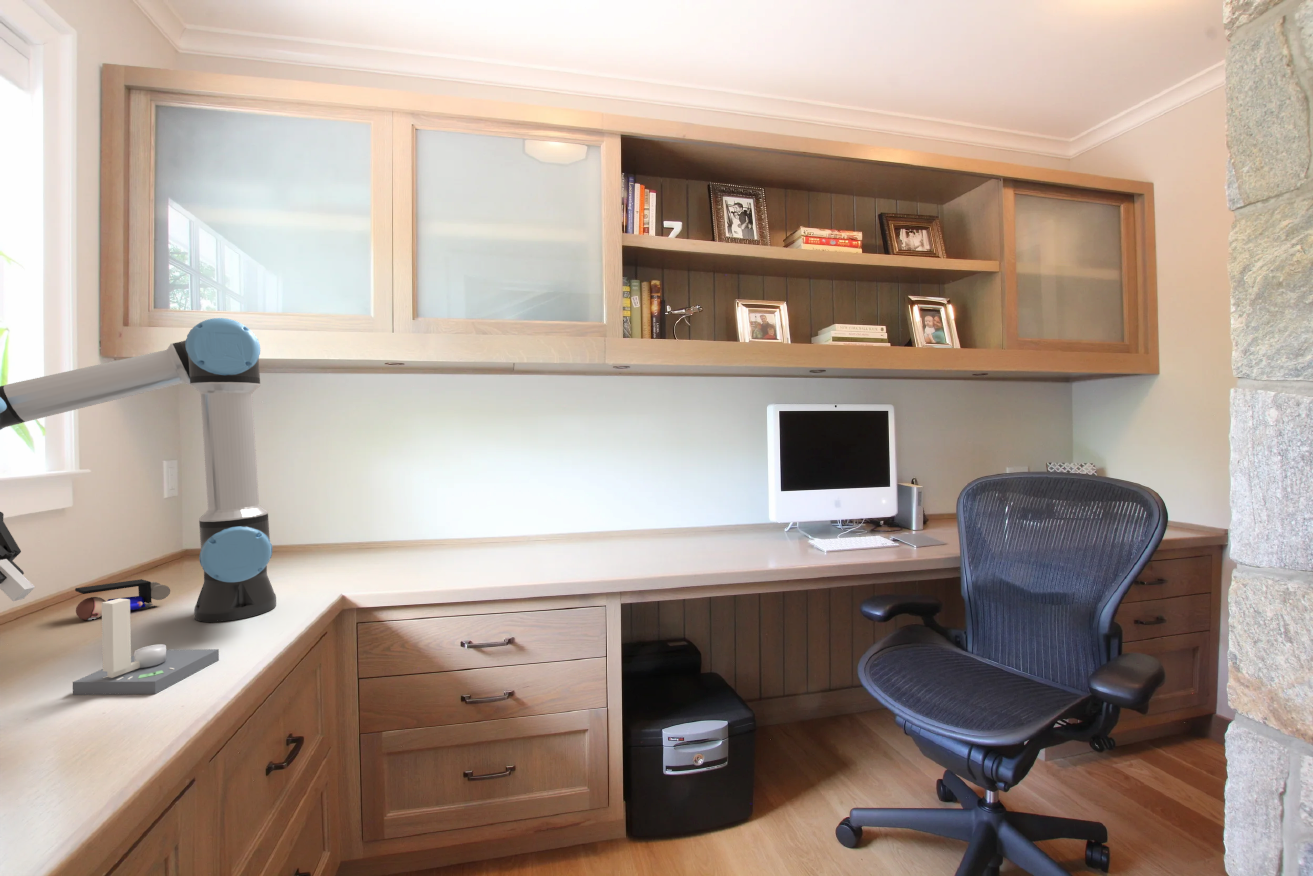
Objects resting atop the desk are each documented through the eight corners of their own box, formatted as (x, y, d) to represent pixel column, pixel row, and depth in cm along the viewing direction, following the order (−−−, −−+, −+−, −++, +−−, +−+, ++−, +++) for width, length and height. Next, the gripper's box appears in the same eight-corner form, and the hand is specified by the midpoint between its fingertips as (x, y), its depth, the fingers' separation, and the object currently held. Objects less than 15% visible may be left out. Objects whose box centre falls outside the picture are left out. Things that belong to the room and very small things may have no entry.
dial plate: (146, 660, 102) (146, 649, 102) (218, 660, 102) (218, 648, 102) (72, 694, 89) (72, 681, 89) (155, 694, 89) (155, 680, 89)
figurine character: (157, 608, 137) (69, 619, 124) (161, 576, 137) (74, 583, 124) (168, 612, 133) (79, 624, 120) (172, 580, 134) (84, 588, 121)
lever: (155, 657, 98) (153, 588, 97) (172, 659, 97) (171, 590, 96) (99, 676, 90) (97, 602, 90) (117, 679, 89) (116, 604, 89)
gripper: (-48, 502, 96) (51, 598, 97) (-157, 513, 83) (-43, 624, 84) (-17, 471, 96) (81, 567, 97) (-122, 478, 83) (-8, 589, 84)
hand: (24, 594), depth 90 cm, fingers closed
